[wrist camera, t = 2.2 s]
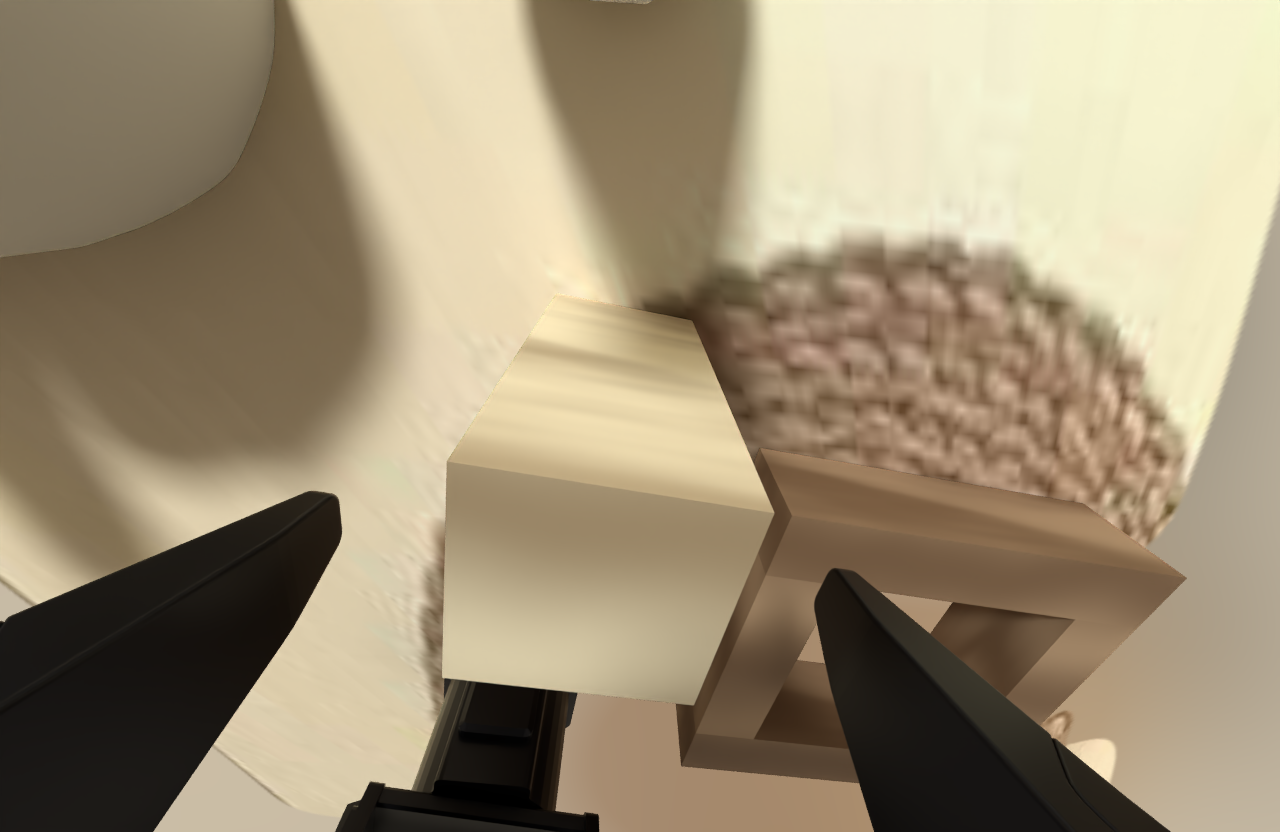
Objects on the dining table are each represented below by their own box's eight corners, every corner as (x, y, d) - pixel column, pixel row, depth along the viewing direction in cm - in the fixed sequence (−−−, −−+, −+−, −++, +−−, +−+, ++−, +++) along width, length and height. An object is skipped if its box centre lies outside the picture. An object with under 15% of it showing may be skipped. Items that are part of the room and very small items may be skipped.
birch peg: (661, 436, 17) (693, 705, 9) (541, 416, 17) (442, 677, 8) (692, 320, 15) (774, 513, 7) (556, 293, 15) (447, 461, 6)
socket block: (923, 707, 25) (971, 793, 22) (673, 678, 24) (681, 766, 20) (1083, 503, 19) (1187, 578, 16) (759, 447, 18) (791, 515, 14)
